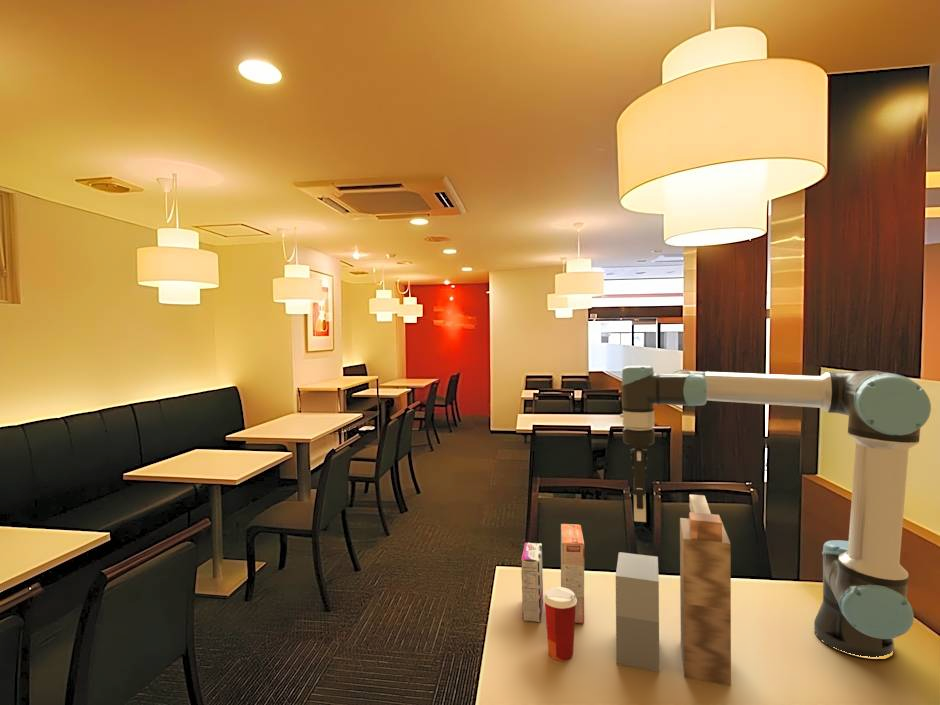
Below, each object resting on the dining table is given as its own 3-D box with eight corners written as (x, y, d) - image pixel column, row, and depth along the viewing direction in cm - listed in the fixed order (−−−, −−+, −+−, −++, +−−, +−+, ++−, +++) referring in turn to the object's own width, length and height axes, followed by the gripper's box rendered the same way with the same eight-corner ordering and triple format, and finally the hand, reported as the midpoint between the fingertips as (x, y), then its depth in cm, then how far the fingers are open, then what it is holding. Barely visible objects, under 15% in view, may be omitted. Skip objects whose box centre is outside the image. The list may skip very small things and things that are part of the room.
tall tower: (722, 649, 118) (722, 521, 117) (730, 685, 106) (730, 543, 105) (680, 642, 121) (679, 517, 120) (684, 676, 109) (683, 538, 108)
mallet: (710, 507, 127) (710, 492, 126) (722, 541, 106) (722, 522, 106) (684, 505, 129) (684, 490, 128) (690, 538, 108) (690, 519, 108)
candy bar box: (525, 599, 142) (524, 541, 142) (543, 601, 141) (542, 542, 140) (521, 621, 131) (520, 558, 131) (541, 623, 130) (540, 560, 130)
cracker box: (585, 624, 129) (585, 543, 128) (561, 623, 130) (560, 542, 129) (582, 596, 143) (581, 523, 142) (560, 595, 144) (559, 522, 143)
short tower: (658, 638, 123) (657, 556, 122) (659, 672, 110) (658, 581, 110) (619, 631, 126) (618, 552, 125) (616, 663, 113) (615, 575, 113)
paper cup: (582, 649, 119) (581, 590, 118) (571, 668, 112) (570, 605, 112) (550, 639, 123) (549, 582, 122) (538, 657, 116) (537, 597, 116)
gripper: (623, 419, 140) (625, 495, 140) (621, 436, 116) (623, 528, 117) (652, 420, 137) (654, 497, 138) (656, 437, 114) (657, 531, 114)
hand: (639, 511), depth 127 cm, fingers open, 13 cm apart
